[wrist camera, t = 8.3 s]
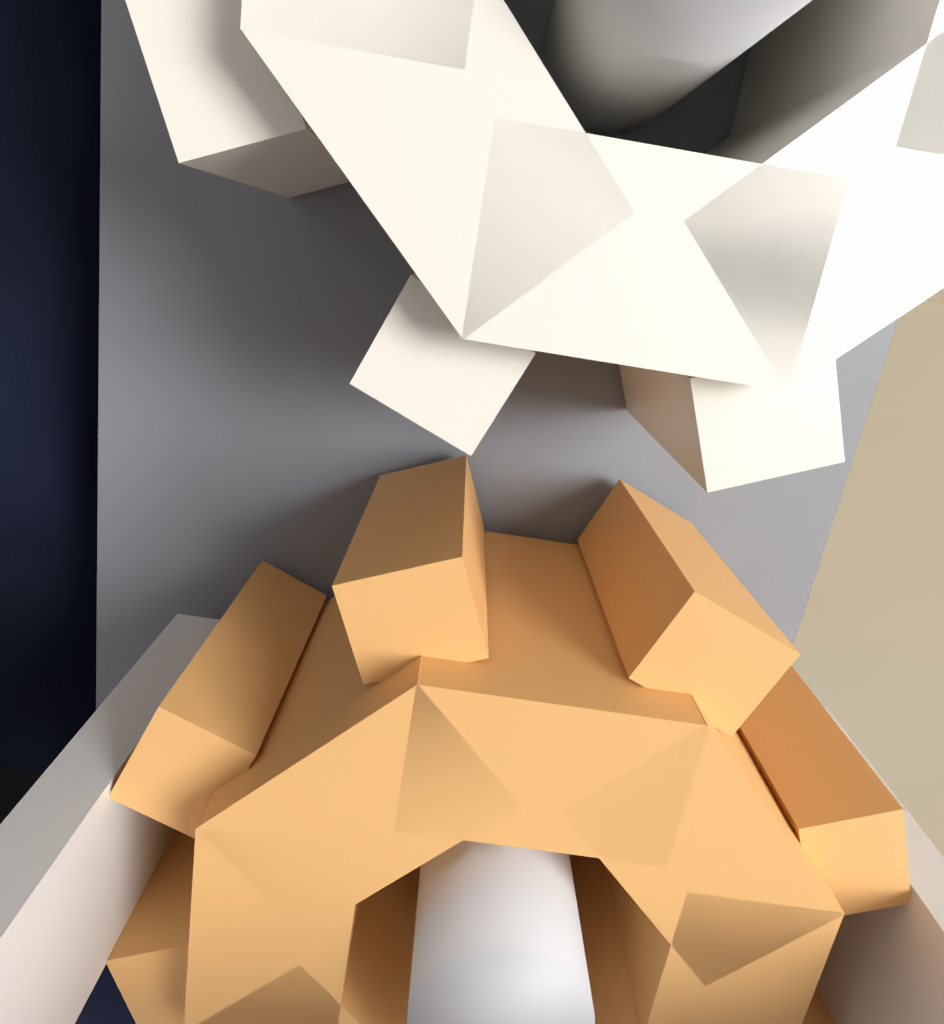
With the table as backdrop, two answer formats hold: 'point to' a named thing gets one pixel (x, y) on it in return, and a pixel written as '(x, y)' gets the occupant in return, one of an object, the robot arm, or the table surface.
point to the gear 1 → (591, 206)
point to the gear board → (398, 425)
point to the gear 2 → (500, 774)
